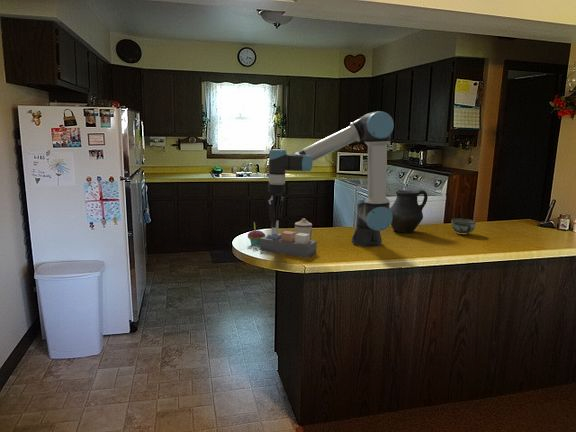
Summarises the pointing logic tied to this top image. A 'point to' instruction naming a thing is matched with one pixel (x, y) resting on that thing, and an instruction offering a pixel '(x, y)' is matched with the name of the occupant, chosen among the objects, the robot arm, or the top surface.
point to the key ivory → (302, 238)
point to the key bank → (288, 247)
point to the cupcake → (255, 236)
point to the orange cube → (288, 236)
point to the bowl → (463, 225)
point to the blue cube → (274, 236)
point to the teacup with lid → (303, 227)
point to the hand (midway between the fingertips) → (274, 234)
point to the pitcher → (407, 210)
